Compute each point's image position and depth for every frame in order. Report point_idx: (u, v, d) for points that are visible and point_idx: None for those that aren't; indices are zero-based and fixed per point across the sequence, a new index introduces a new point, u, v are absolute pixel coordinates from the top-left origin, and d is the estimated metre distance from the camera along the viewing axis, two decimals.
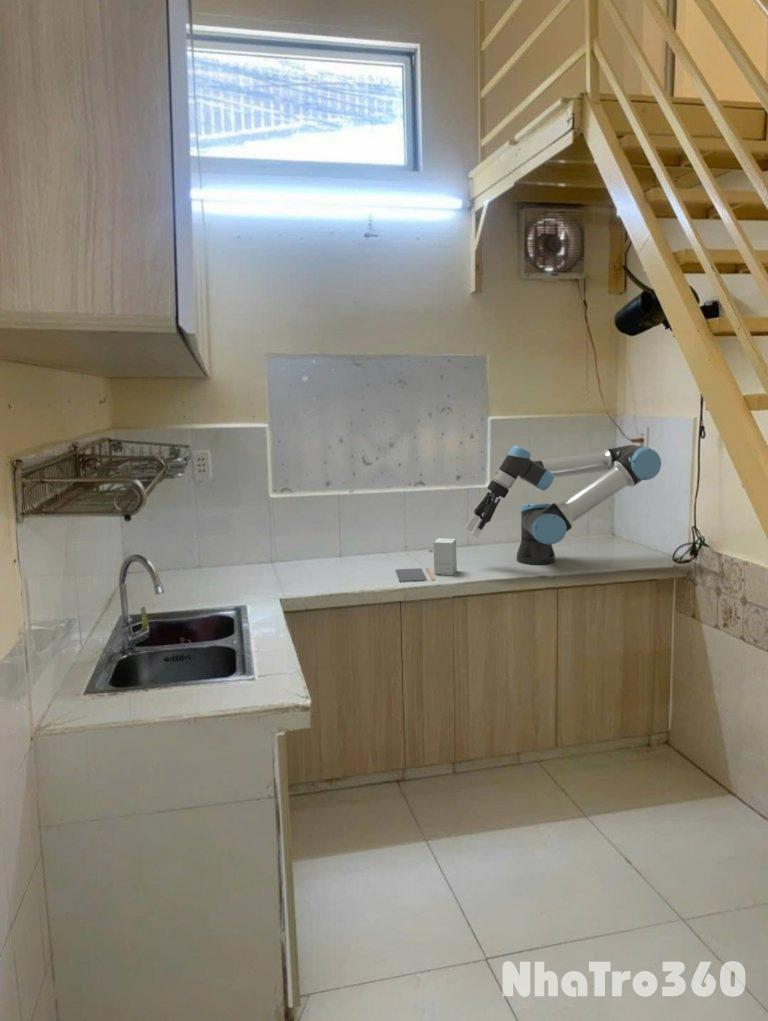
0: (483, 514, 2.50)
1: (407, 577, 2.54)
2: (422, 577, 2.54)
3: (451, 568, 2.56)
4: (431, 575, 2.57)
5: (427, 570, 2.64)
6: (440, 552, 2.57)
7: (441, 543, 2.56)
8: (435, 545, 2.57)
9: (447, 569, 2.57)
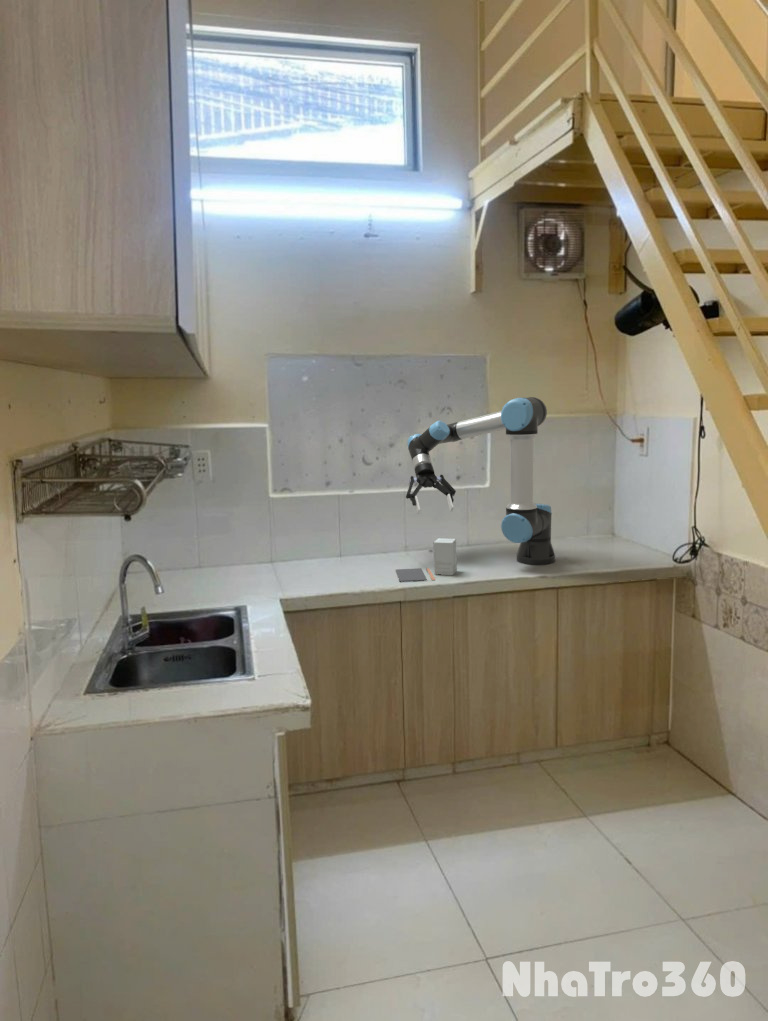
0: (414, 495, 2.71)
1: (407, 577, 2.54)
2: (422, 577, 2.54)
3: (451, 568, 2.56)
4: (431, 575, 2.57)
5: (427, 570, 2.64)
6: (440, 552, 2.57)
7: (441, 543, 2.56)
8: (435, 545, 2.57)
9: (447, 569, 2.57)
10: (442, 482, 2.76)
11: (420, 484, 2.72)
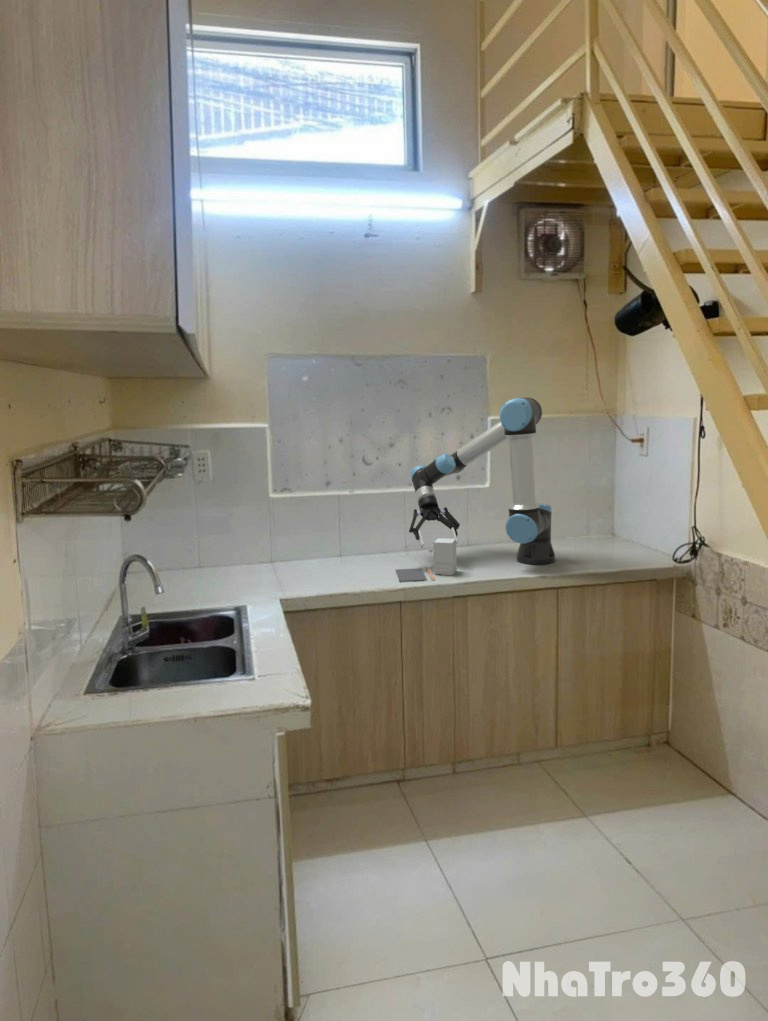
0: None
1: (407, 577, 2.54)
2: (422, 577, 2.54)
3: (451, 568, 2.56)
4: (431, 575, 2.57)
5: (427, 570, 2.64)
6: (440, 552, 2.57)
7: (441, 543, 2.56)
8: (435, 545, 2.57)
9: (447, 569, 2.57)
10: (446, 515, 2.72)
11: (423, 517, 2.68)
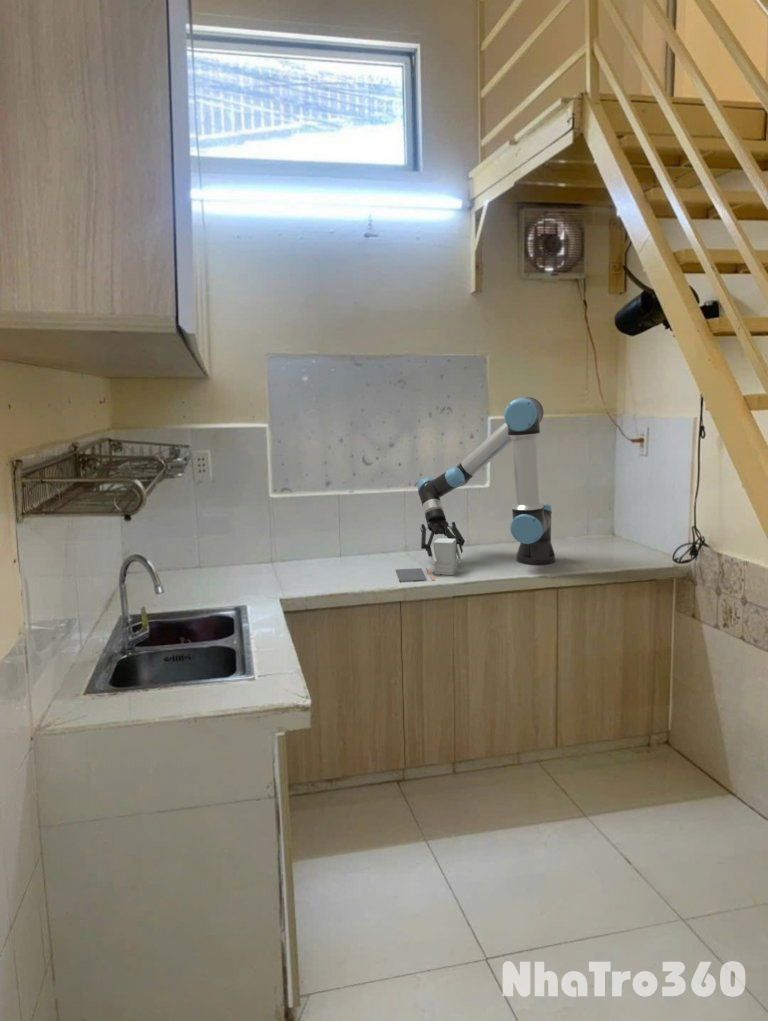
0: None
1: (407, 577, 2.54)
2: (422, 577, 2.54)
3: (451, 568, 2.56)
4: (431, 575, 2.57)
5: (427, 570, 2.64)
6: (440, 552, 2.57)
7: (441, 543, 2.56)
8: (435, 545, 2.57)
9: (447, 569, 2.57)
10: (453, 530, 2.66)
11: (433, 532, 2.62)
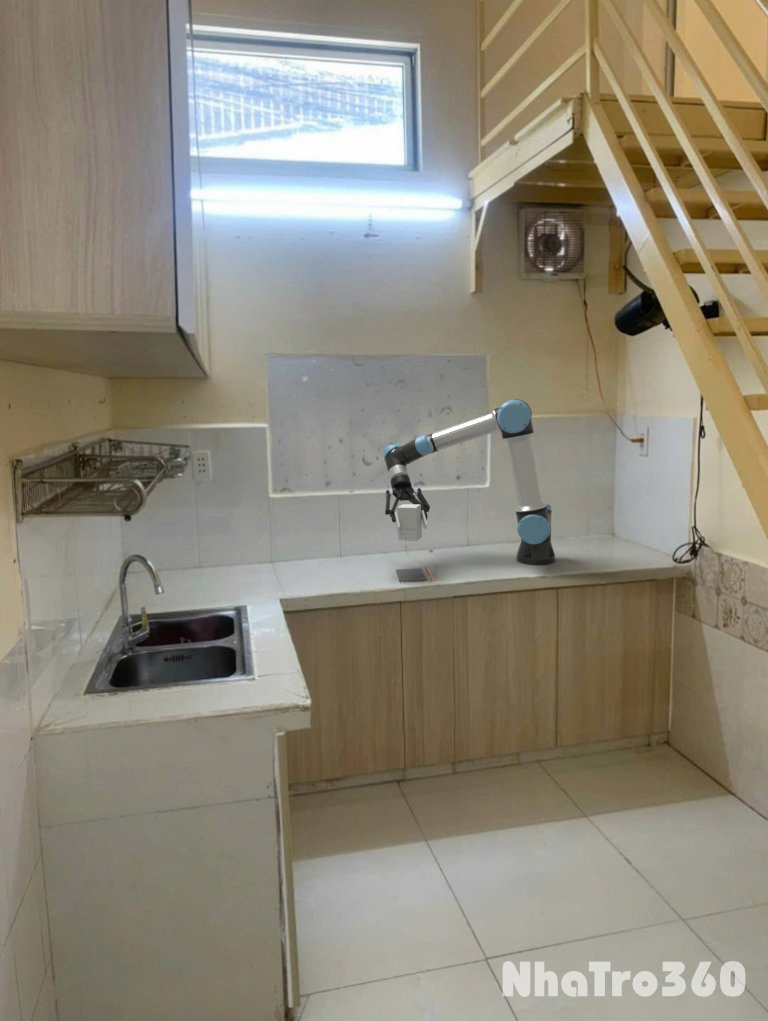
0: (393, 511, 2.57)
1: (407, 577, 2.54)
2: (422, 577, 2.54)
3: (415, 534, 2.51)
4: (431, 575, 2.57)
5: (427, 570, 2.64)
6: (404, 517, 2.51)
7: (405, 508, 2.51)
8: (399, 510, 2.52)
9: (411, 534, 2.52)
10: (418, 496, 2.61)
11: (397, 498, 2.57)
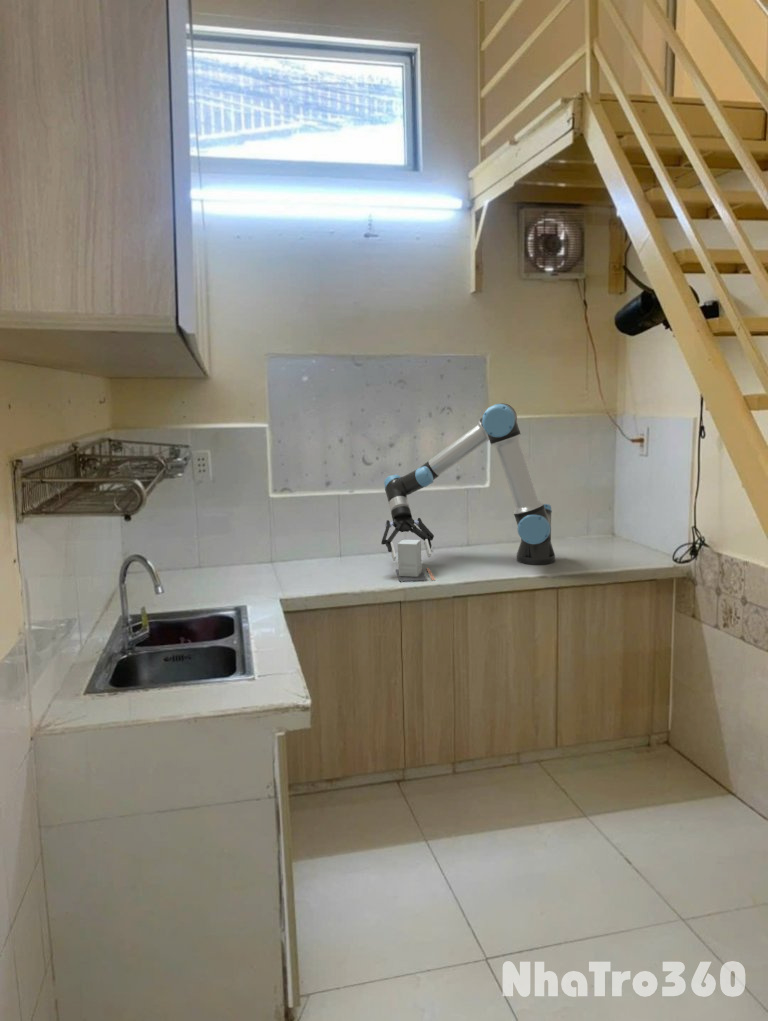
0: (390, 541, 2.59)
1: (407, 577, 2.54)
2: (422, 577, 2.54)
3: (415, 570, 2.54)
4: (431, 575, 2.57)
5: (427, 570, 2.64)
6: (404, 553, 2.54)
7: (405, 544, 2.53)
8: (399, 546, 2.54)
9: (411, 570, 2.54)
10: (420, 526, 2.63)
11: (396, 529, 2.59)
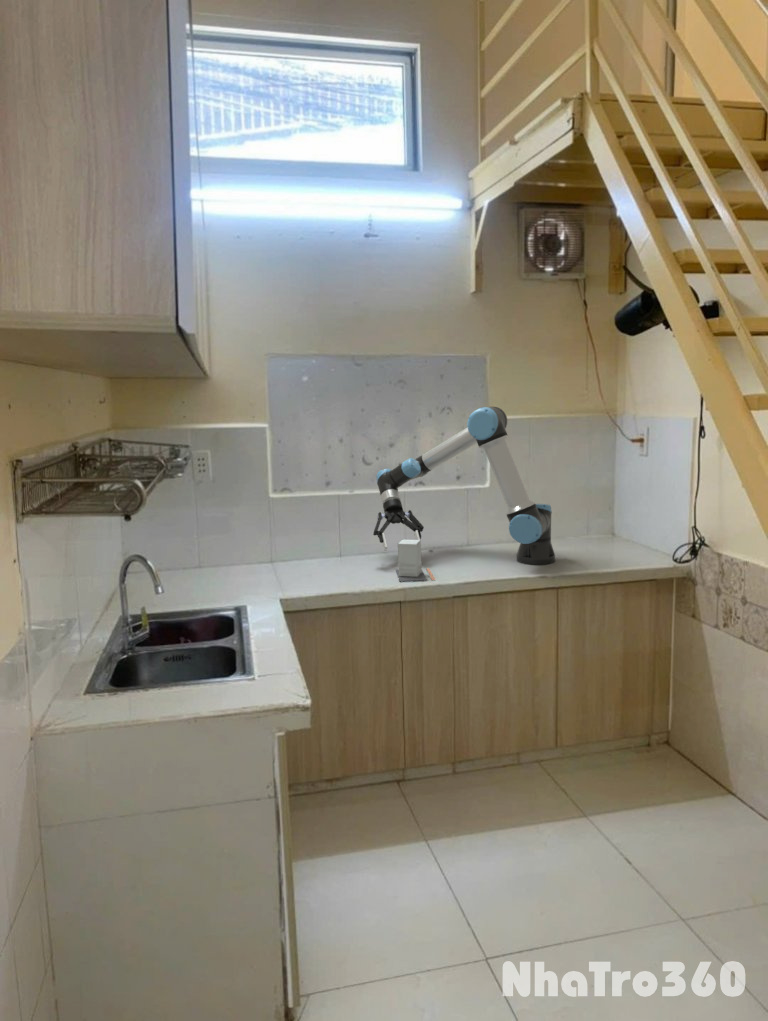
0: (382, 532, 2.70)
1: (407, 577, 2.54)
2: (422, 577, 2.54)
3: (415, 570, 2.54)
4: (431, 575, 2.57)
5: (427, 570, 2.64)
6: (404, 553, 2.54)
7: (405, 544, 2.53)
8: (399, 546, 2.54)
9: (411, 570, 2.54)
10: (410, 518, 2.75)
11: (388, 520, 2.71)
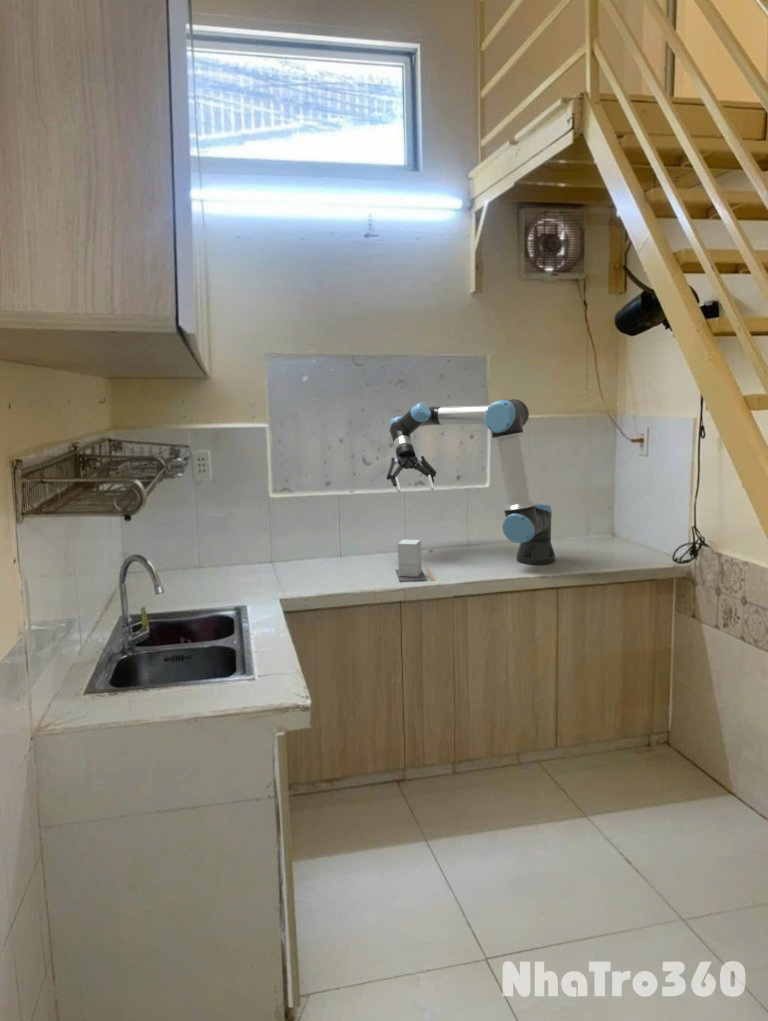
0: (395, 476, 2.73)
1: (407, 577, 2.54)
2: (422, 577, 2.54)
3: (415, 570, 2.54)
4: (431, 575, 2.57)
5: (427, 570, 2.64)
6: (404, 553, 2.54)
7: (405, 544, 2.53)
8: (399, 546, 2.54)
9: (411, 570, 2.54)
10: (423, 463, 2.78)
11: (401, 465, 2.73)
